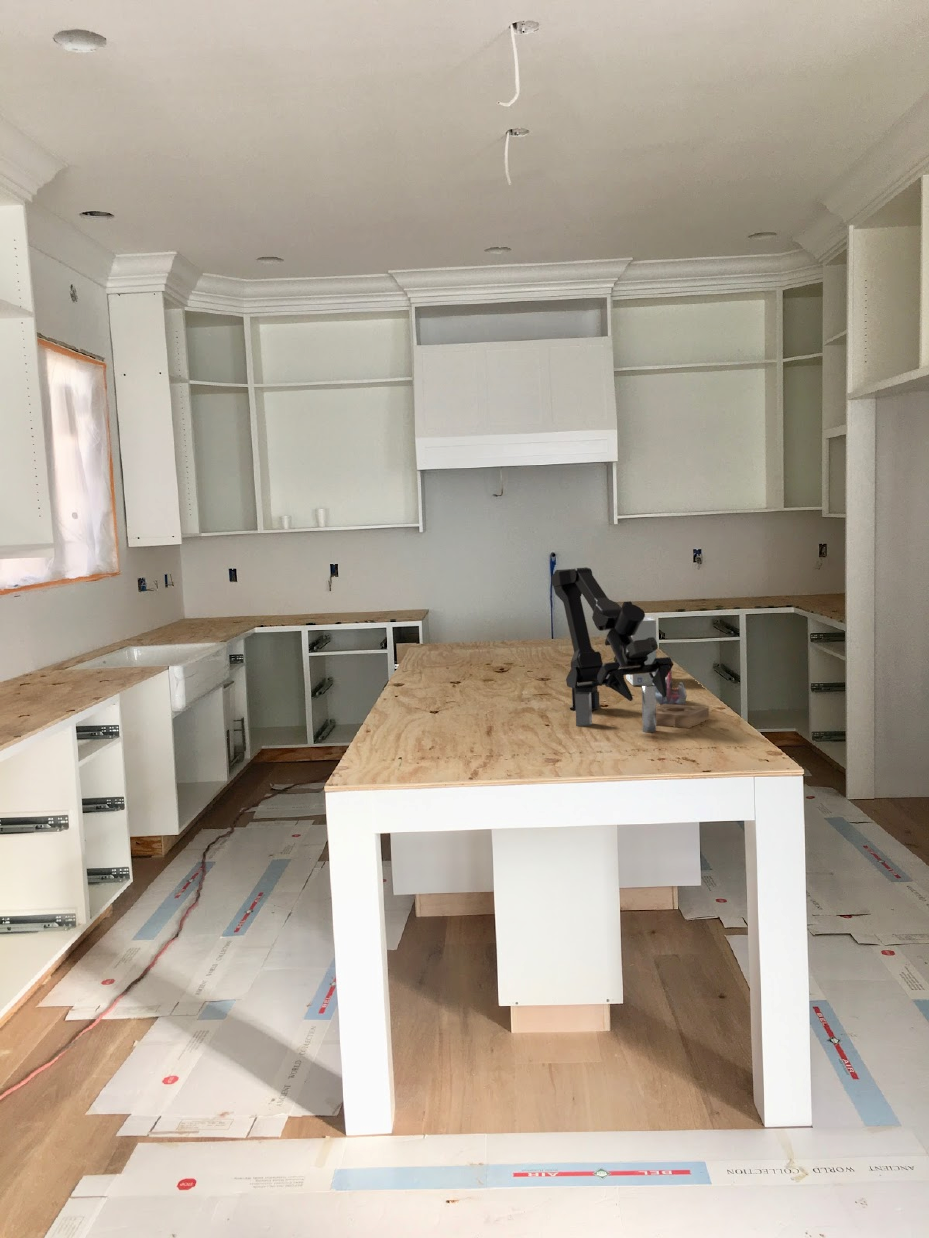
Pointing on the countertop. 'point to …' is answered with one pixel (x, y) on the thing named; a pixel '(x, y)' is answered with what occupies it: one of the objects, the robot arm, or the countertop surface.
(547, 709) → the countertop surface
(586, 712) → the square bit
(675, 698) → the brake caliper
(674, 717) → the bore block
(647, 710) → the round bit
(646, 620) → the hard drive box
